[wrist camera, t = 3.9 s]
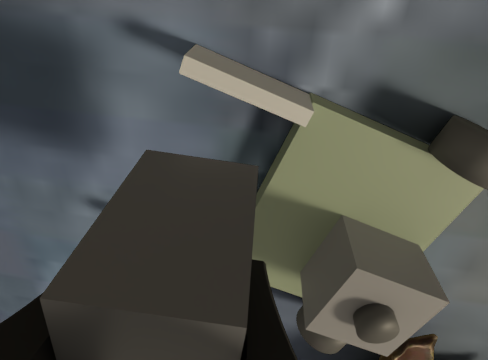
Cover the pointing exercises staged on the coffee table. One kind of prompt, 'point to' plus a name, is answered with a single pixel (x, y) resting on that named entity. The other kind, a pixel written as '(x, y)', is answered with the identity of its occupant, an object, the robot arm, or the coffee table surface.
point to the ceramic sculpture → (414, 349)
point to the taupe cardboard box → (161, 266)
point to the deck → (352, 209)
